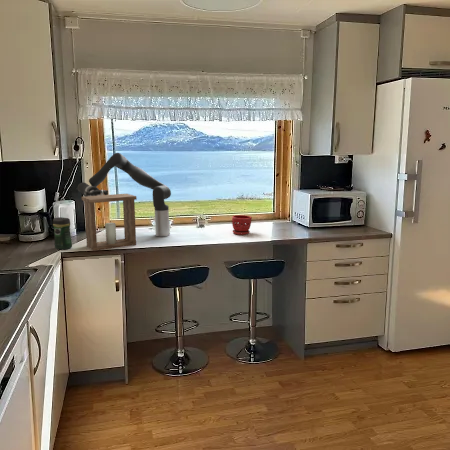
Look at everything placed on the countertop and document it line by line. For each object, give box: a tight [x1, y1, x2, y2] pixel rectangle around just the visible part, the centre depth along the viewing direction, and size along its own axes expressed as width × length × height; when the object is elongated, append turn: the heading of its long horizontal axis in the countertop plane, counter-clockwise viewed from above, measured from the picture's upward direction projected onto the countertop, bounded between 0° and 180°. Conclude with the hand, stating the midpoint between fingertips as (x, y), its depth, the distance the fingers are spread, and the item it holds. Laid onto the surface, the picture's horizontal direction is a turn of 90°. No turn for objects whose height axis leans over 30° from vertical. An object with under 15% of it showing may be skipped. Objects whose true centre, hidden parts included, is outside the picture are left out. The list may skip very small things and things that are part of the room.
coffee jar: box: [52, 216, 73, 250], centre depth 255 cm, size 10×8×19 cm
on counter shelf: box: [81, 193, 138, 252], centre depth 260 cm, size 16×28×30 cm, turn 124°
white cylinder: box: [104, 222, 117, 244], centre depth 262 cm, size 6×6×12 cm
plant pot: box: [231, 214, 252, 236], centre depth 295 cm, size 13×13×12 cm
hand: (99, 194), depth 276 cm, fingers open, 8 cm apart
